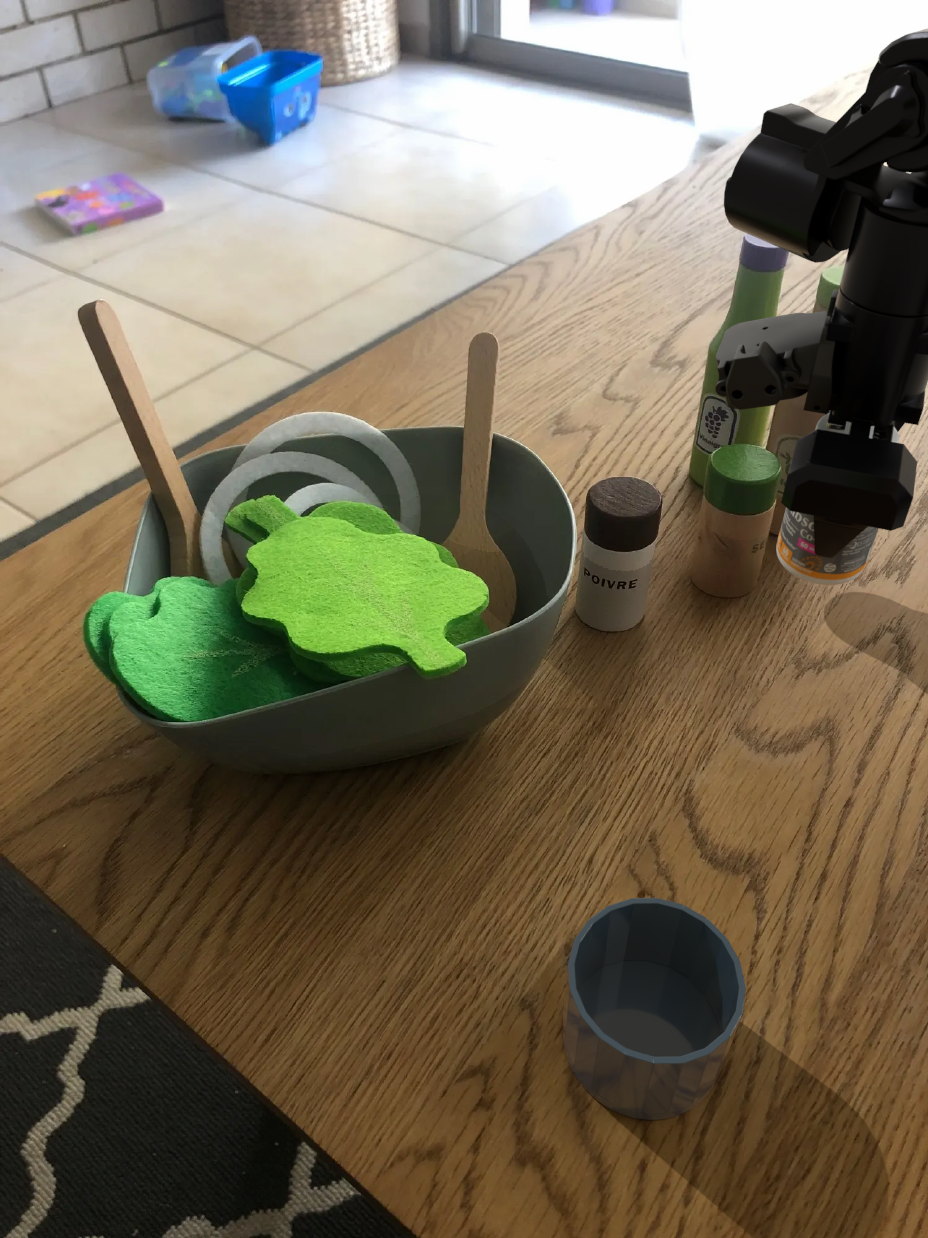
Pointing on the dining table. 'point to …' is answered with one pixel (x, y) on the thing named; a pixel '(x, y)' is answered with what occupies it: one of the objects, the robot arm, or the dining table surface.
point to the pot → (650, 1007)
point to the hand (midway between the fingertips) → (829, 525)
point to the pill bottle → (799, 542)
